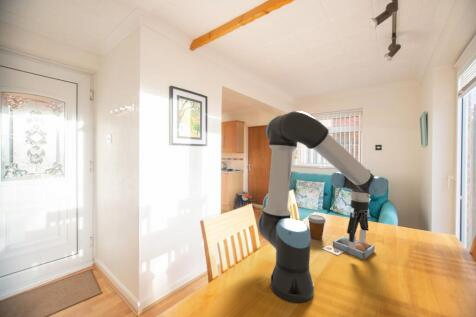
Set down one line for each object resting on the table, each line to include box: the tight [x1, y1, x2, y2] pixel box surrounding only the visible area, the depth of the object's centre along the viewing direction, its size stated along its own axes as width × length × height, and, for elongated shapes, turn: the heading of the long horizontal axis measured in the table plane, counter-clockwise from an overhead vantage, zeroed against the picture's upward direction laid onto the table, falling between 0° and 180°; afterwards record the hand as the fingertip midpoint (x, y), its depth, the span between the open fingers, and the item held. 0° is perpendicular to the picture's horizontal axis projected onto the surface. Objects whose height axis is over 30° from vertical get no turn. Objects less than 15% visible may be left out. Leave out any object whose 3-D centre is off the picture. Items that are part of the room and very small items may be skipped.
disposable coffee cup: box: [307, 214, 326, 241], centre depth 116 cm, size 10×10×12 cm
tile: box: [321, 245, 345, 256], centre depth 101 cm, size 6×8×1 cm
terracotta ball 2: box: [358, 241, 370, 250], centre depth 102 cm, size 5×5×5 cm
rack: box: [332, 235, 375, 260], centre depth 103 cm, size 13×15×3 cm
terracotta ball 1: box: [355, 243, 365, 252], centre depth 98 cm, size 5×5×5 cm
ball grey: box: [341, 236, 349, 246], centre depth 106 cm, size 5×5×5 cm
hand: (357, 245), depth 97 cm, fingers open, 11 cm apart
